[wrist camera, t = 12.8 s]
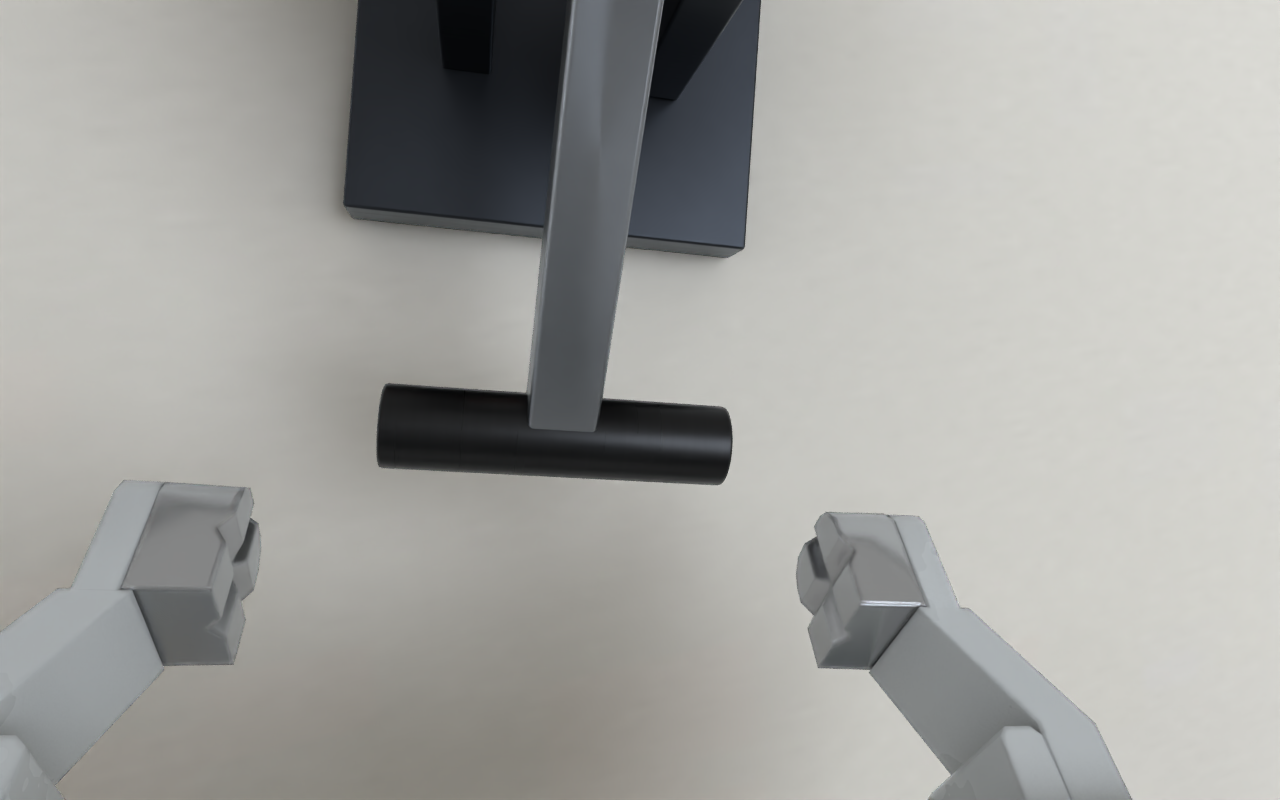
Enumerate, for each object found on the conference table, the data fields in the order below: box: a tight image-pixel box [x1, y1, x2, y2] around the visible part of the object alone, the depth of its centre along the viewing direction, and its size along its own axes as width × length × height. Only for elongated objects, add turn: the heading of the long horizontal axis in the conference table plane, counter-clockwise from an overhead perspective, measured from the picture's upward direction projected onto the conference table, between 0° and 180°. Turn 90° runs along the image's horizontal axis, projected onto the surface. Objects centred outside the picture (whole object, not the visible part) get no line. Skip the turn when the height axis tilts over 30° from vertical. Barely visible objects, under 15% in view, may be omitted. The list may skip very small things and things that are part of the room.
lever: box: [377, 0, 733, 485], centre depth 11 cm, size 13×6×2 cm, turn 177°
